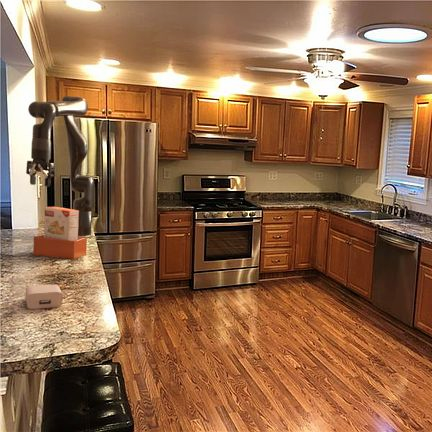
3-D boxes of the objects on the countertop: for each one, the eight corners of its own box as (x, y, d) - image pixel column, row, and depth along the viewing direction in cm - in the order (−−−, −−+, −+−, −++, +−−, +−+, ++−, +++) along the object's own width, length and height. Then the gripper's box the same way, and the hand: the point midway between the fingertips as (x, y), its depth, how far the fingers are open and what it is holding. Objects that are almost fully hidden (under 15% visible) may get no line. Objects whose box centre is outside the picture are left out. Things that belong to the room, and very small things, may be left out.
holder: (47, 250, 213) (48, 233, 212) (86, 254, 212) (87, 237, 211) (33, 254, 203) (33, 236, 202) (73, 259, 201) (74, 241, 200)
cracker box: (42, 253, 206) (44, 206, 204) (53, 251, 212) (55, 206, 210) (67, 258, 202) (69, 210, 200) (77, 255, 208) (79, 209, 205)
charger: (56, 292, 154) (61, 306, 142) (24, 294, 149) (27, 309, 137) (56, 279, 154) (62, 291, 141) (24, 280, 149) (27, 293, 136)
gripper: (60, 150, 203) (59, 187, 205) (36, 147, 208) (35, 183, 210) (46, 149, 196) (44, 187, 198) (21, 146, 201) (20, 184, 203)
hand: (40, 185), depth 204 cm, fingers open, 8 cm apart
